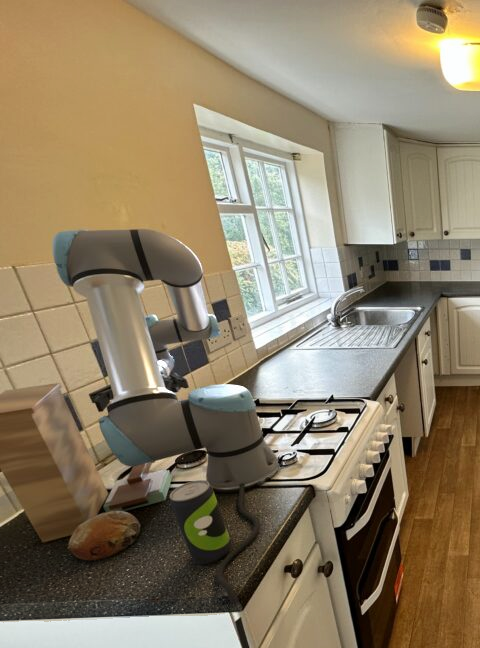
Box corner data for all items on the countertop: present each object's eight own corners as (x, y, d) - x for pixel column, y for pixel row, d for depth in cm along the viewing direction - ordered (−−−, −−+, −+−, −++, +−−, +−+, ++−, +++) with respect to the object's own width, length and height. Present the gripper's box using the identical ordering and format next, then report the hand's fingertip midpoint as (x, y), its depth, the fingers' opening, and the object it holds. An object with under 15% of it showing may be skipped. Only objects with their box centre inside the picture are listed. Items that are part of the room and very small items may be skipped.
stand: (92, 529, 85) (31, 407, 74) (38, 543, 81) (-34, 418, 70) (111, 492, 96) (60, 382, 85) (64, 504, 92) (5, 390, 82)
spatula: (146, 500, 89) (143, 493, 88) (110, 510, 86) (106, 502, 85) (163, 453, 106) (161, 446, 105) (133, 460, 103) (131, 453, 103)
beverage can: (200, 546, 81) (175, 483, 75) (236, 538, 82) (215, 476, 77) (188, 570, 75) (161, 504, 69) (227, 561, 77) (204, 496, 71)
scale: (165, 501, 93) (160, 490, 92) (106, 516, 89) (101, 505, 87) (172, 478, 101) (168, 467, 100) (119, 490, 97) (114, 480, 96)
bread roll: (139, 535, 88) (119, 503, 87) (154, 533, 83) (133, 499, 81) (78, 568, 80) (55, 533, 79) (90, 568, 74) (65, 531, 73)
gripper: (206, 378, 128) (199, 403, 111) (99, 395, 116) (73, 426, 99) (198, 356, 125) (190, 377, 108) (89, 370, 113) (60, 397, 96)
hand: (134, 400), depth 103 cm, fingers open, 13 cm apart
